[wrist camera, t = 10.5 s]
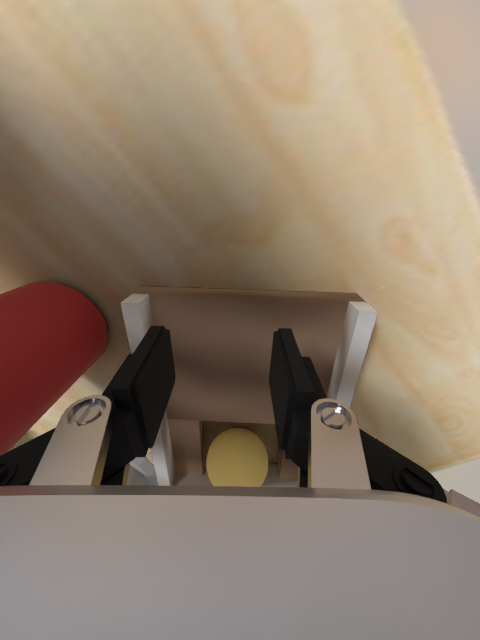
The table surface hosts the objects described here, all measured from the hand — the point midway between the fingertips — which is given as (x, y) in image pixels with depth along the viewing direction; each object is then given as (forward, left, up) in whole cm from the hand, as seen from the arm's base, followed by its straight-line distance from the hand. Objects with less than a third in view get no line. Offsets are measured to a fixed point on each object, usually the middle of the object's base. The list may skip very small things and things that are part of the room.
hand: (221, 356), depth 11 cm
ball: (+13, +1, -3) cm, 13 cm away
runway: (+9, +1, -6) cm, 11 cm away
